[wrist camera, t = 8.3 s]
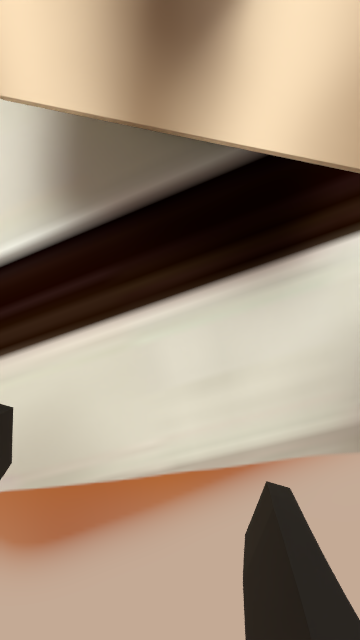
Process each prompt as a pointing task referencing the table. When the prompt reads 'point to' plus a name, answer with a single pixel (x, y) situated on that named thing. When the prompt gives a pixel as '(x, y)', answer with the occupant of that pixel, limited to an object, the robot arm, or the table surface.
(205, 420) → the table surface
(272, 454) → the table surface
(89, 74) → the lid
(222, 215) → the table surface
